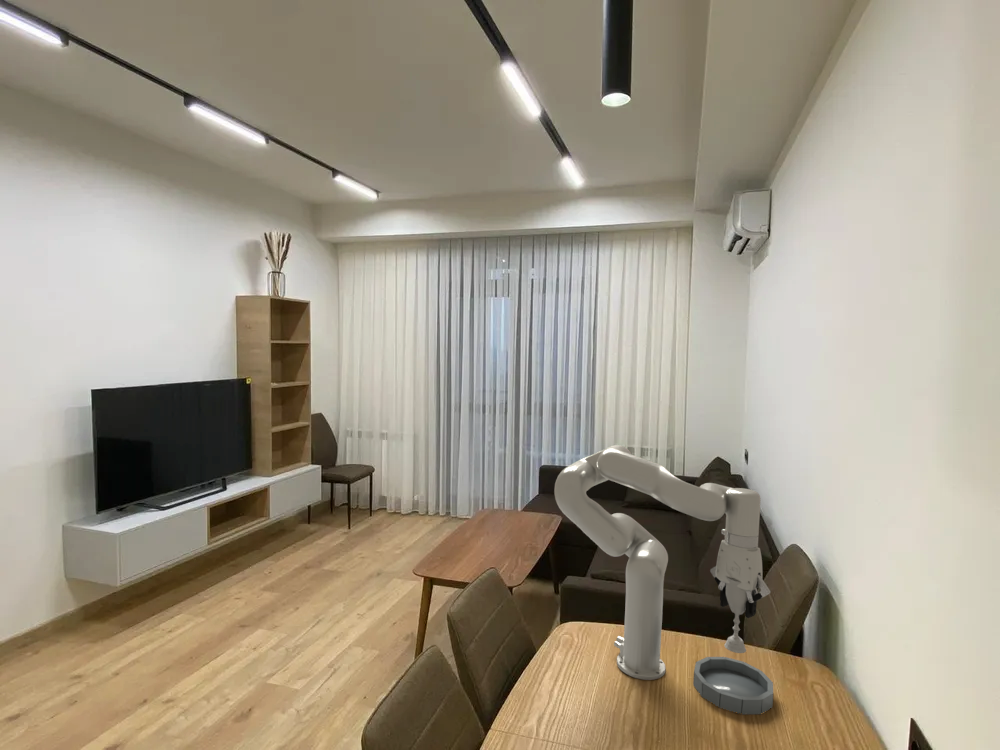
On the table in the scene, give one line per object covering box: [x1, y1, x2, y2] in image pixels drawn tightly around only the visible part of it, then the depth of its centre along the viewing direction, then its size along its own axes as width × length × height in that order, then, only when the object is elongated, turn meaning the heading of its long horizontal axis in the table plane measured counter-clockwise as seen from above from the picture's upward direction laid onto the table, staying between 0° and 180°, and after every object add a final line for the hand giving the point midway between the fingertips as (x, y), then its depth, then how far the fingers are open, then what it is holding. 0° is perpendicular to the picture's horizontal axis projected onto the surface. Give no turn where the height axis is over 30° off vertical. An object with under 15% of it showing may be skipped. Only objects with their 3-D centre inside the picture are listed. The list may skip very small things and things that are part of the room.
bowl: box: [692, 656, 774, 715], centre depth 136 cm, size 18×18×4 cm
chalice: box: [723, 577, 748, 654], centre depth 135 cm, size 7×7×18 cm
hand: (737, 610), depth 135 cm, fingers closed on chalice, 6 cm apart
